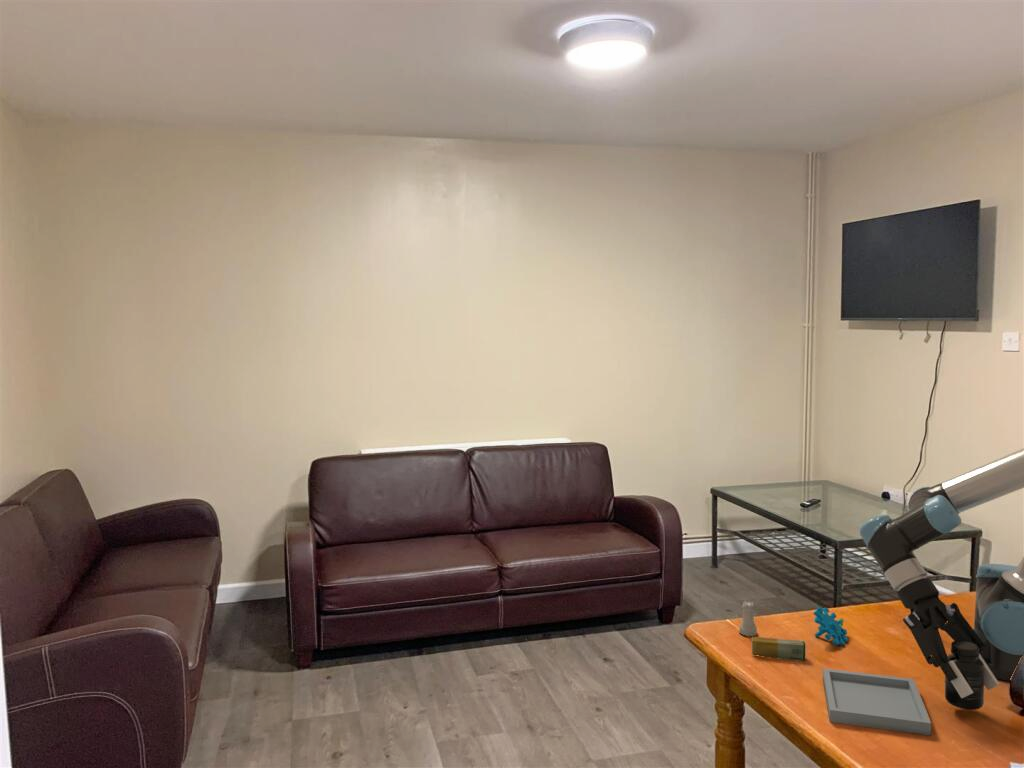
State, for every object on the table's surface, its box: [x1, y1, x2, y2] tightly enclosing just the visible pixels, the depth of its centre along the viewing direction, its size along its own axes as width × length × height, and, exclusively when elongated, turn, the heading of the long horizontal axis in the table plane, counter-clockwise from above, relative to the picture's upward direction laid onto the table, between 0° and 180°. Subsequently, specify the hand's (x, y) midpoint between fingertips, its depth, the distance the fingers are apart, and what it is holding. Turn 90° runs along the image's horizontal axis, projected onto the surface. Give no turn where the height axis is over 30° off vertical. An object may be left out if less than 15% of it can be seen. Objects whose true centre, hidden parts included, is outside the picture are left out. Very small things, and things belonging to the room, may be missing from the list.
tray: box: [822, 668, 932, 736], centre depth 161 cm, size 18×18×2 cm
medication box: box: [751, 636, 807, 662], centre depth 184 cm, size 12×3×4 cm, turn 75°
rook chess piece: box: [738, 600, 758, 637], centre depth 196 cm, size 4×4×8 cm
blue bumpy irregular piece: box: [813, 606, 849, 647], centre depth 193 cm, size 11×6×10 cm
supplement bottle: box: [944, 640, 985, 711], centre depth 157 cm, size 7×7×12 cm
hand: (980, 691), depth 154 cm, fingers closed on supplement bottle, 7 cm apart
